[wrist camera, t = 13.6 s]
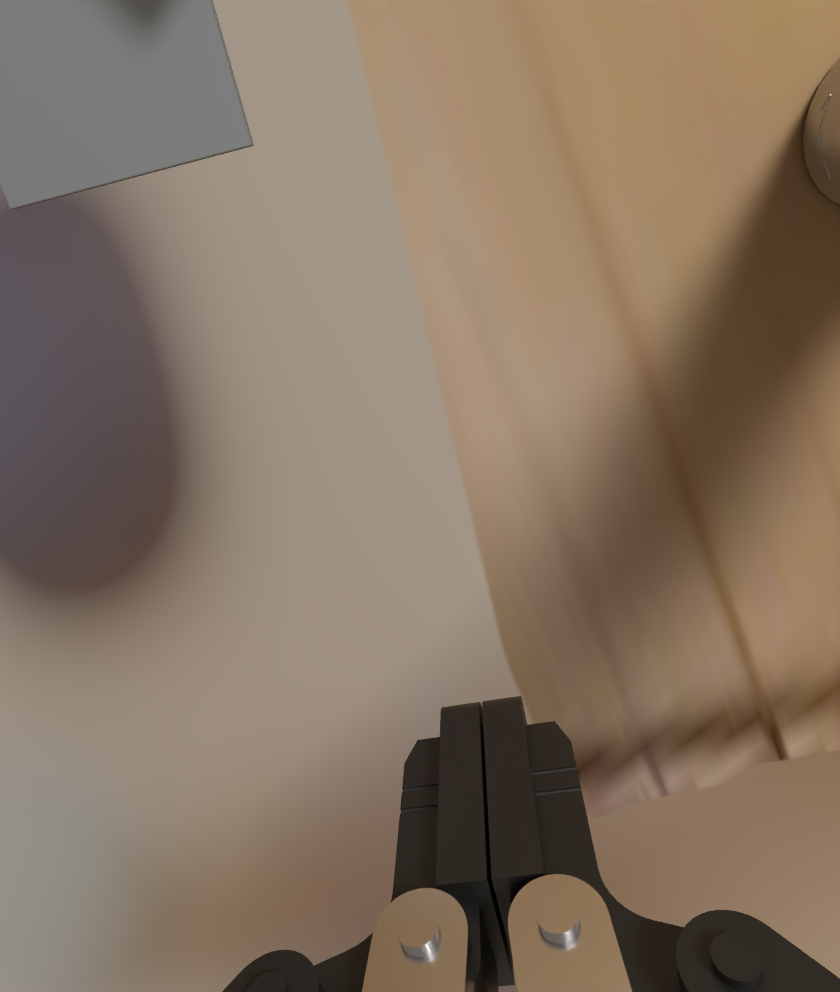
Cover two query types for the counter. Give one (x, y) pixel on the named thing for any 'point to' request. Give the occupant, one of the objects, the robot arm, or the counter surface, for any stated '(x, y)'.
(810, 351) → the counter surface
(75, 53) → the mat
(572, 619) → the counter surface
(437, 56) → the counter surface
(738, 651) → the counter surface
